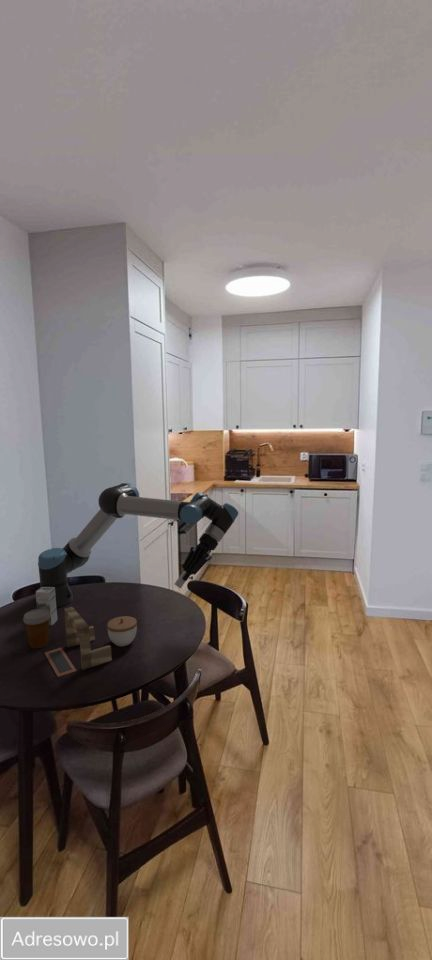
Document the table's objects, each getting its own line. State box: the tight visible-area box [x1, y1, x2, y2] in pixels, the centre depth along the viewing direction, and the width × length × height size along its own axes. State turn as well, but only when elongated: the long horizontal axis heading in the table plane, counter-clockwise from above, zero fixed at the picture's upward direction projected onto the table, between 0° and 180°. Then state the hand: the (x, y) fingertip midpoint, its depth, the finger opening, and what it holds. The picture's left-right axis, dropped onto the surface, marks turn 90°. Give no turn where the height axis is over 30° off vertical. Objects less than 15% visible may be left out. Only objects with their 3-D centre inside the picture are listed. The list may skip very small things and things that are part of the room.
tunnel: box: [63, 606, 113, 671], centre depth 159 cm, size 19×10×14 cm, turn 34°
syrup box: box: [35, 587, 58, 627], centre depth 183 cm, size 6×6×14 cm
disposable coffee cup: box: [22, 608, 51, 649], centre depth 166 cm, size 10×10×12 cm
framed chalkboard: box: [44, 647, 77, 678], centre depth 155 cm, size 18×6×1 cm, turn 34°
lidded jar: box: [106, 615, 138, 647], centre depth 167 cm, size 11×11×9 cm
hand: (177, 586), depth 177 cm, fingers closed
